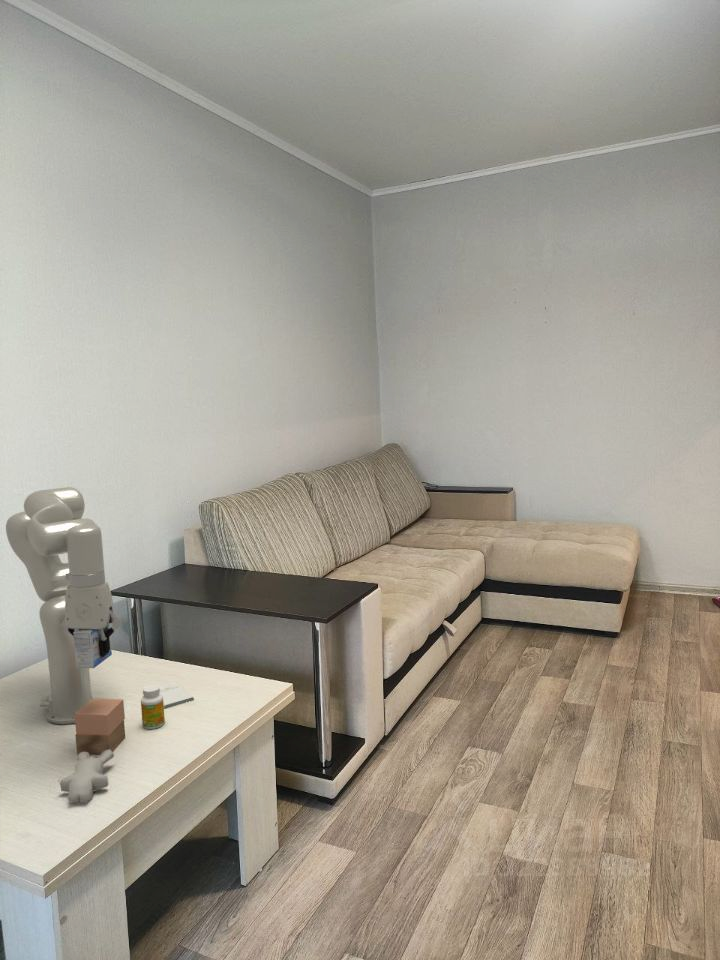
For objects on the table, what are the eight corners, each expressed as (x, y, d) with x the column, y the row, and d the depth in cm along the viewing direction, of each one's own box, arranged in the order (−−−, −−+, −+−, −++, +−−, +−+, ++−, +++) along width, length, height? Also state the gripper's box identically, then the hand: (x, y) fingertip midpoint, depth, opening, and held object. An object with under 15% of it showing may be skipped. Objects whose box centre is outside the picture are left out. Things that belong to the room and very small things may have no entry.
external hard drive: (164, 711, 182) (149, 694, 193) (194, 702, 187) (178, 686, 197) (164, 705, 182) (149, 688, 192) (193, 696, 187) (177, 680, 197)
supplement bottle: (144, 731, 171) (142, 694, 169) (140, 722, 175) (138, 686, 174) (167, 726, 173) (164, 689, 172) (162, 717, 178) (159, 681, 176)
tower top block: (76, 734, 161) (74, 714, 160) (93, 717, 168) (92, 698, 168) (108, 735, 160) (107, 715, 159) (124, 718, 167) (123, 699, 167)
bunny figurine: (52, 791, 140) (73, 744, 154) (55, 812, 141) (76, 764, 156) (100, 786, 141) (117, 741, 155) (103, 807, 142) (119, 760, 157)
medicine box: (93, 669, 157) (90, 632, 156) (75, 667, 158) (72, 631, 157) (112, 655, 165) (109, 620, 164) (95, 654, 166) (92, 619, 164)
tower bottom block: (77, 755, 161) (75, 735, 160) (94, 737, 169) (92, 718, 168) (109, 756, 160) (108, 736, 159) (125, 738, 168) (123, 719, 167)
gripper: (43, 583, 156) (51, 659, 159) (114, 584, 154) (120, 662, 156) (62, 573, 163) (68, 647, 166) (130, 574, 161) (135, 649, 164)
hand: (94, 653), depth 161 cm, fingers closed on medicine box, 4 cm apart
